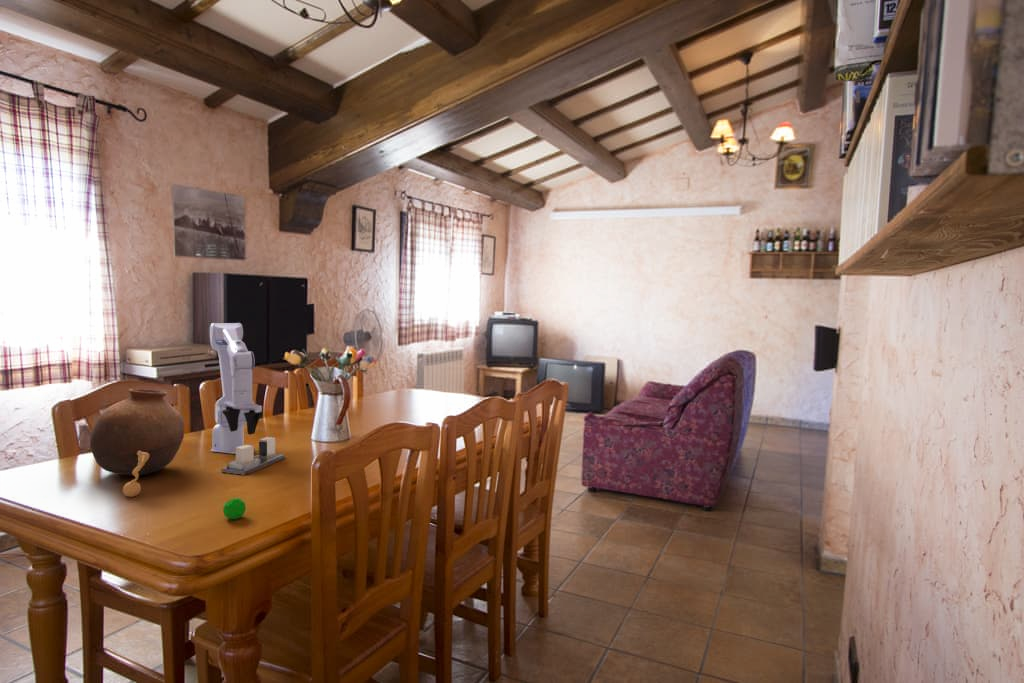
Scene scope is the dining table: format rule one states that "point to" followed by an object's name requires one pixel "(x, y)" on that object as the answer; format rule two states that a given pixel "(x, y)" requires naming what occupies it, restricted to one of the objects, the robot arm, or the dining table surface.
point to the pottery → (137, 433)
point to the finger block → (244, 454)
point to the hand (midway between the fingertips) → (242, 432)
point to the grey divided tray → (256, 458)
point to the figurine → (133, 486)
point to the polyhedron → (234, 508)
